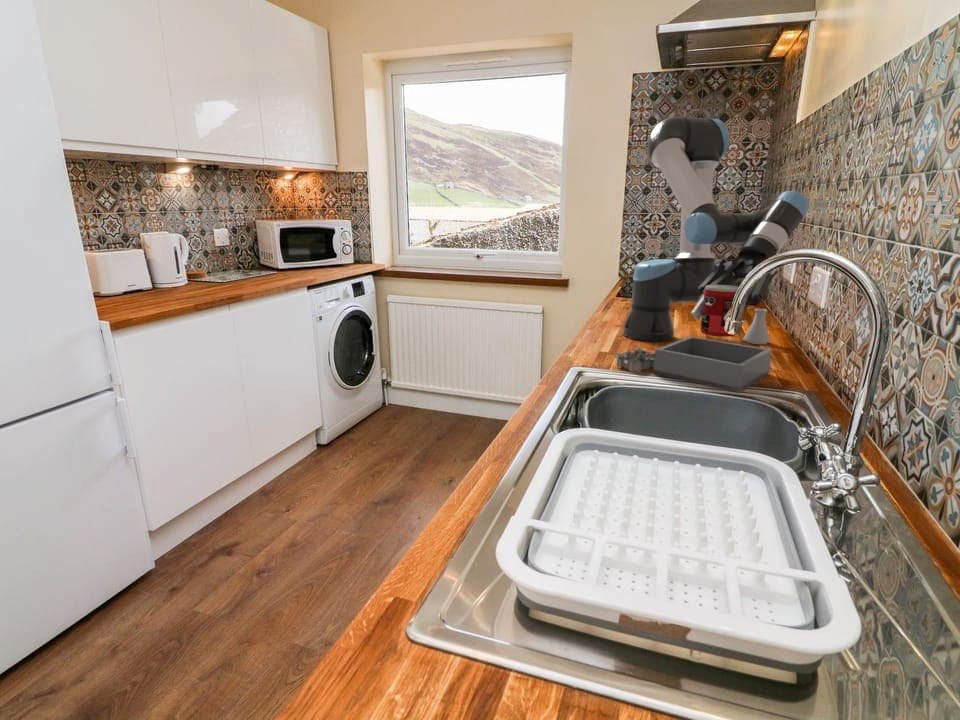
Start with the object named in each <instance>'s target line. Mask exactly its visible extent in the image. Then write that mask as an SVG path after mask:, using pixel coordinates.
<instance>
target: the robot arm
mask: <svg viewBox="0 0 960 720" xmlns="http://www.w3.org/2000/svg"><path fill="white" fill-rule="evenodd" d="M729 145H730V132H729V130H728V127H727V125H726V124H725V123H724V121H722V120H720V119H718V118H717V119H716V118H712V117H707V116H706V117H688V116H670V117H667V118H665V119H663V120H662V121H660V122H658V123H657V124H656V126H655V127H653V129H652V131H651V133H650V134H649V137H648V141H647V154H648V156H649V158H650V162H652V164H653V166H654V167H656V168H657V169H660V171H661V173H662V175H663V176H664V179H665V180H666V182H667V184H668V186H669V189H670V190H671V191H672V192H673V195H674V196H675V199H676V200H677V202H678V204H679V206H680V207H681V209H680V210H681V212H680V236H679V237H680V239H679V240H680V241H679V242H680V243H679V253H678V255H676V257H674V259H671V258H669V259H668V258H661V259H658V258H657V259H650V260H644V261H640V262H639V263H637V264H636V265H635V267H634V270H633V276H632V280H633V281H632V290H631V291H632V293H631V303H630V304H631V305H630V312H629V314H628V317H627V319H626V321H625V324H624V325H623V331H622V334H624V335H626V336H628V337H627V338H629V337H631V338H630V339H633V338H635V339H634V340H638V339H639V341H648V342H662V341H672V340H673V339H674V336H675V335H674V334H675V331H674V330H675V329H674V325H673V321H672V316H671V308H672V303H690V302H691V303H692V302H693V303H696V305H695V307H694V308H693V309H692V310H691V312H690V313H691V315H692V317H693V318H694V319H695V321H699V319H701V318H702V309H703V300H704V292H705V286H707V285H729V284H731V283H732V282H736V281H737V280H739V279H745V276H746V275H747V274H748V273H749V272H750V271H751V270H752V269H753V268H754V267H755V266H756V265H758V264H759V263H761V262H762V261H764V260H766V259H768V258H769V257H772V256H774V255H776V254H777V255H778V253H779V252H780V251H781V250H782V248H783V247H784V245H785V244H786V243H787V242H788V240H789V239H790V237H791V235H793V233H794V231H795V230H796V229H797V228H798V226H799V225H800V223H801V222H802V221H803V220H804V218H805V215H806V214H807V213H808V211H809V209H810V201H809V199H808V198H807V197H806V196H805V195H804V194H802V193H800V192H799V191H795V190H785V191H783V192H781V194H780V195H779V196H777V197H776V198H775V200H774V201H773V203H772V204H771V205H769V206H766V207H765V208H762V209H760V210H758V211H756V212H753V213H722V212H721V210H720V209H719V207H718V206H717V204H716V203H715V201H714V200H713V186H714V185H713V184H714V182H713V181H714V170H715V169H716V168H717V167H718V166H719V165H720V160H721V159H723V158H724V156H725V155H726V153H727V150H728V149H729ZM718 244H721V245H722V244H725V245H726V244H727V245H731V244H732V245H734V246H737V247H739V248H740V250H739V253H738V254H737V255H738V256H736V258H734V259H732V260H730V261H727V260H726V258H723V259H721V260H720V262H719V264H718V263H715V262H716V257H715V256H714V255H713V254H712V253H711V250H710V249H711V245H718ZM777 255H776V256H777ZM778 272H779V271H778V269H775V270H773V271H771V272H770V273H768V274H767V275H766V276H764V277H763V278H762V279H761V280H760V281H759V280H758V281H757V284H756V285H755V287H754V288H753V290H752V292H751V294H750V296H749V298H748V301H747V304H746V306H745V310H744V312H745V311H746V310H747V308H748V307H749V306H750V305H751V304H753V303H756V304H761V303H762V301H763V299H764V298H765V297H764V296H765V295H766V292H767V291H768V289H769V286H770V284H771V282H772V280H773V278H774V277H775V276H776V275H777V274H778ZM729 312H730V310H729V311H728V313H727V314H726V315H725V317H724V318H723V319H724V320H725V322H726V319H727V317H728V314H729ZM624 335H623V336H624ZM626 336H625V337H626Z"/></svg>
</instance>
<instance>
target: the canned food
mask: <svg viewBox="0 0 960 720" xmlns="http://www.w3.org/2000/svg"><path fill="white" fill-rule="evenodd" d="M738 287H739V286H738V285H737V286H736V285H729V284H728V285H707V286H705V292H704V300H703V309H702V316H701V317H700V320H701V321H700V332H701V333H702V334H704V335H707V336H710V337H711V336H712V337H713V336H714V337H721V338H722V337H723V338H724V337H725V338H727V337H734V336H735V335H730V334H728V333H727V332H725V331H724V326H725V320H724V319H723V318H724V317H725V315H726V314H727V313H728V311H729V310H730V308H731V305H732V301H733V298H734V295H735V293H736V291H737V289H738Z"/></svg>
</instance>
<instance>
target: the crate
mask: <svg viewBox="0 0 960 720" xmlns="http://www.w3.org/2000/svg"><path fill="white" fill-rule="evenodd" d="M654 353H655V357H654V367H652V368H653V370H652V374H654V375H658V376H663V377H666V378H672V379H677V380H680V381H684V382H689V383H694V384H697V385H703V386H708V387H712V388H717V389H721V390H724V391H725V390H726V391H730V392H733V393H734V392H735V393H741V392H743V391H744V390H746V389H747V388H749V387H751V386H752V385H754V384H755V383H757V382H758V381H760V380H762V379H763V378H764V377H767V375H769V373H770V367H771V360H772V354H773V349H770V348H763V347H758V346H752V345H745V344H741V343H740V344H739V343H734V342H727V341H722V340H715V339H709V338H704V337H697V336H692V335H691V336H688V337H685V338H682V339H679V340H677V341H674V342H670V343H669V344H665V345H663V346H659V347H658V348H655V349H654ZM750 385H751V386H750Z"/></svg>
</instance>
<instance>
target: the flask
mask: <svg viewBox="0 0 960 720" xmlns="http://www.w3.org/2000/svg"><path fill="white" fill-rule="evenodd" d="M767 313H768V310H767V309H765V308H755V309H754V317H753V321H752V322H751V325H750V326H749V328H748V330H747V331H746V333H745V335H744V336H743V339H742V341H744V342H745V343H749V344H752V345H753V344H754V345H768V344H767V343H770V344H771V343H772V342H771V339H770V335H769V331H768V328H767V320H766V319H767V318H766V317H767Z"/></svg>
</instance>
